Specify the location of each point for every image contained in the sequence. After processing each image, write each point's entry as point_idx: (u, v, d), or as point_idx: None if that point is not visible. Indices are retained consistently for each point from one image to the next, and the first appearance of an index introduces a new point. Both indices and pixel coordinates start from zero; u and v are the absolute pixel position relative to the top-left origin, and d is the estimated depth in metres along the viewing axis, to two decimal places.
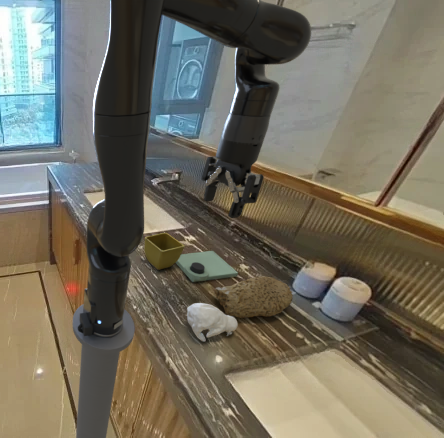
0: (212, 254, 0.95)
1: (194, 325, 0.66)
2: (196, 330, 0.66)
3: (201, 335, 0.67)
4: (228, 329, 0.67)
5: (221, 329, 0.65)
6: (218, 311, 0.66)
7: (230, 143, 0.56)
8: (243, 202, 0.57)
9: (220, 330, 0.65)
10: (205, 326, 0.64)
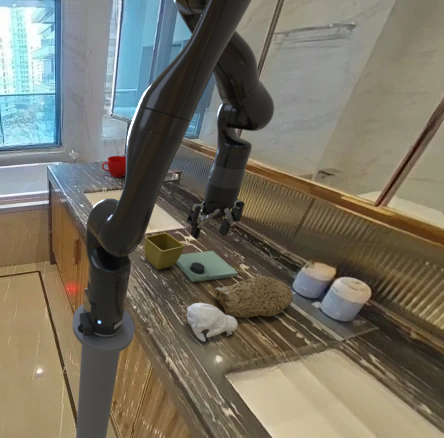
0: (212, 254, 0.95)
1: (194, 325, 0.66)
2: (196, 330, 0.66)
3: (201, 335, 0.67)
4: (228, 329, 0.67)
5: (221, 329, 0.65)
6: (218, 311, 0.66)
7: (238, 189, 0.69)
8: (238, 220, 0.77)
9: (220, 330, 0.65)
10: (205, 326, 0.64)
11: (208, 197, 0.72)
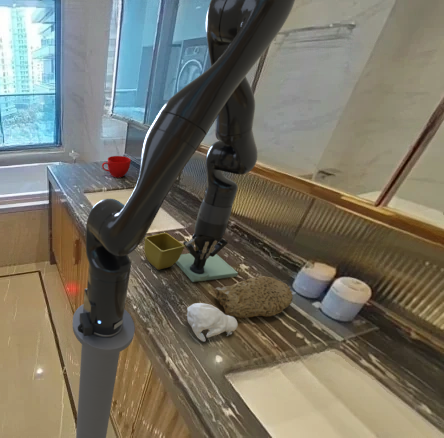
0: None
1: (194, 325, 0.66)
2: (196, 330, 0.66)
3: (201, 335, 0.67)
4: (228, 329, 0.67)
5: (221, 329, 0.65)
6: (218, 311, 0.66)
7: (225, 224, 0.75)
8: (213, 255, 0.82)
9: (220, 330, 0.65)
10: (205, 326, 0.64)
11: (198, 230, 0.78)
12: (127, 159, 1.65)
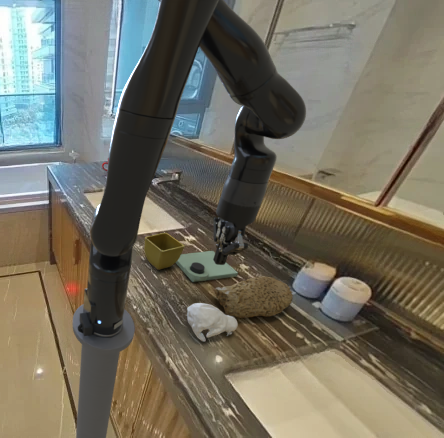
0: (212, 254, 0.95)
1: (194, 325, 0.66)
2: (196, 330, 0.66)
3: (201, 335, 0.67)
4: (228, 329, 0.67)
5: (221, 329, 0.65)
6: (218, 311, 0.66)
7: None
8: None
9: (220, 330, 0.65)
10: (205, 326, 0.64)
11: (245, 221, 0.59)
12: None
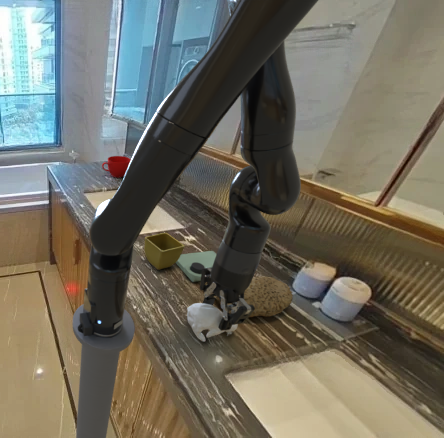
0: (212, 254, 0.95)
1: (194, 325, 0.66)
2: (196, 330, 0.66)
3: (201, 335, 0.67)
4: None
5: None
6: (218, 311, 0.66)
7: None
8: None
9: (220, 330, 0.65)
10: (205, 326, 0.64)
11: (245, 287, 0.58)
12: (127, 159, 1.65)
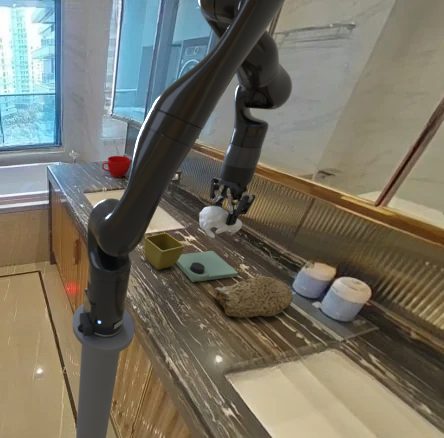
0: (212, 254, 0.95)
1: (205, 223, 0.79)
2: (207, 227, 0.79)
3: (211, 232, 0.80)
4: (234, 228, 0.80)
5: None
6: (225, 211, 0.79)
7: None
8: None
9: (227, 226, 0.79)
10: (215, 221, 0.77)
11: (247, 181, 0.71)
12: (127, 159, 1.65)
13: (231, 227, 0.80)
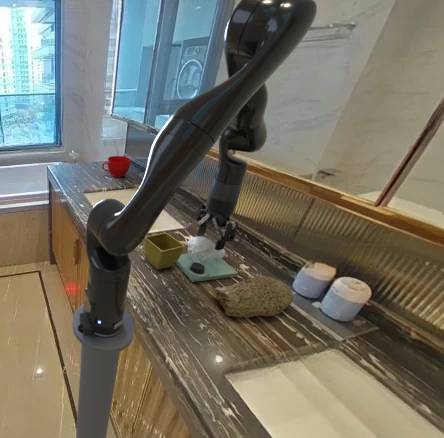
0: None
1: (193, 252, 0.89)
2: (194, 255, 0.89)
3: (198, 260, 0.90)
4: (218, 256, 0.90)
5: (213, 254, 0.88)
6: (210, 241, 0.89)
7: None
8: None
9: (212, 255, 0.88)
10: (201, 251, 0.87)
11: (230, 212, 0.80)
12: (127, 159, 1.65)
13: (215, 255, 0.89)
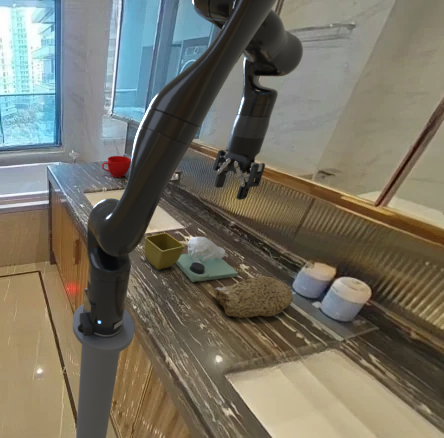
0: None
1: (193, 252, 0.89)
2: (194, 255, 0.89)
3: (198, 260, 0.90)
4: (218, 256, 0.90)
5: (213, 254, 0.88)
6: (210, 241, 0.89)
7: None
8: None
9: (212, 255, 0.88)
10: (201, 251, 0.87)
11: (255, 152, 0.70)
12: (127, 159, 1.65)
13: (215, 255, 0.89)
